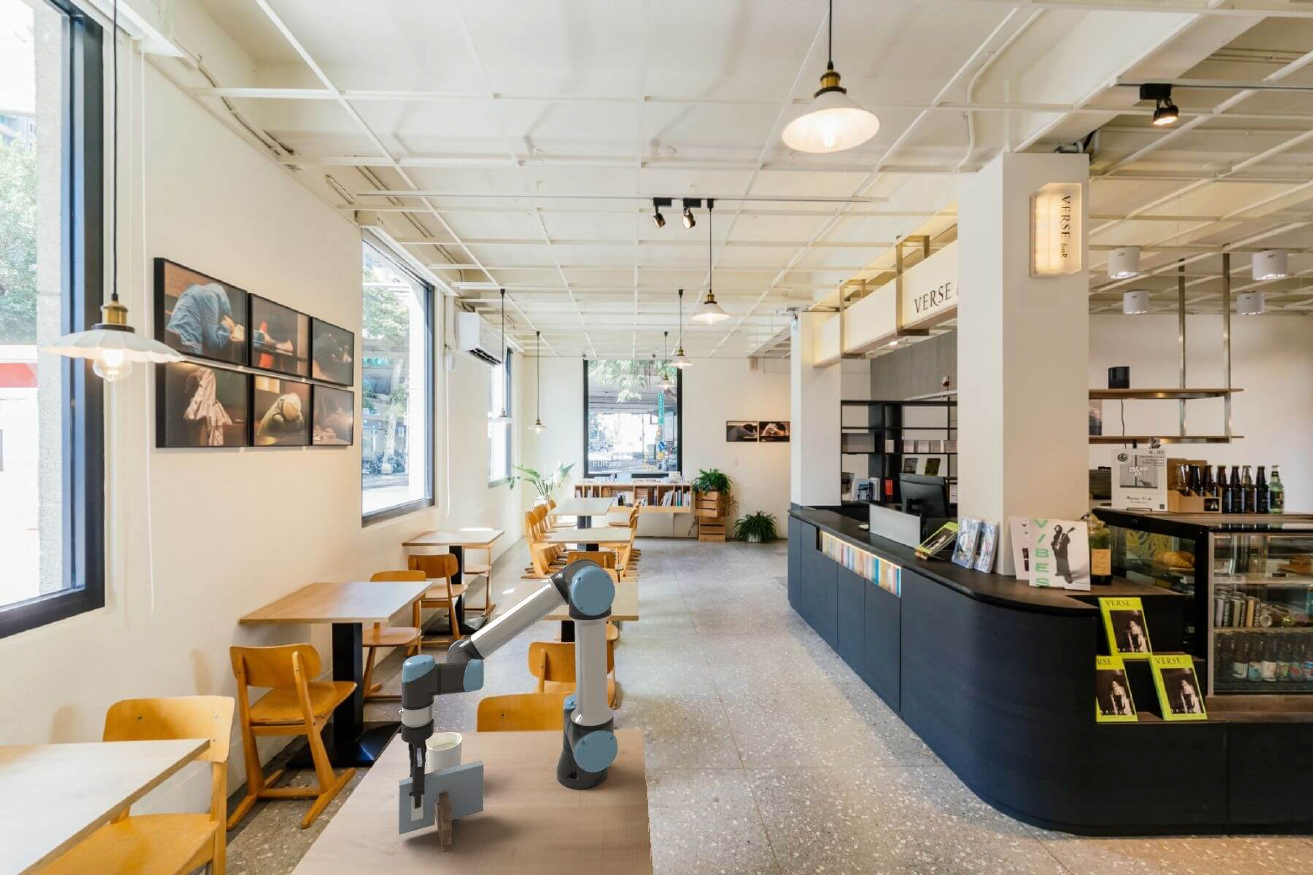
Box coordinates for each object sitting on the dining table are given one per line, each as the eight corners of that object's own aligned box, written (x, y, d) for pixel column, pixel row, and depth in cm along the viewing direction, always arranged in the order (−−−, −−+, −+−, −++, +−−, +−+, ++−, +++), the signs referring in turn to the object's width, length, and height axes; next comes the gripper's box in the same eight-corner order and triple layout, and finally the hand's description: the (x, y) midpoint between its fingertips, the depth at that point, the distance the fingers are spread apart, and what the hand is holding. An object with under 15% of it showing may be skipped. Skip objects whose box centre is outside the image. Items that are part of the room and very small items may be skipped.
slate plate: (481, 805, 151) (481, 760, 151) (483, 810, 148) (483, 764, 148) (398, 828, 141) (399, 780, 141) (399, 834, 139) (399, 785, 139)
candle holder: (450, 795, 158) (450, 751, 158) (418, 790, 160) (419, 747, 160) (468, 774, 168) (469, 734, 168) (438, 770, 170) (439, 730, 170)
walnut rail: (441, 806, 153) (442, 768, 153) (451, 848, 137) (451, 807, 137) (433, 808, 152) (434, 770, 152) (442, 851, 136) (442, 809, 136)
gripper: (399, 710, 147) (398, 801, 147) (403, 738, 134) (402, 838, 134) (430, 704, 151) (429, 793, 151) (437, 731, 137) (436, 829, 137)
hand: (416, 814), depth 142 cm, fingers closed on slate plate, 2 cm apart
